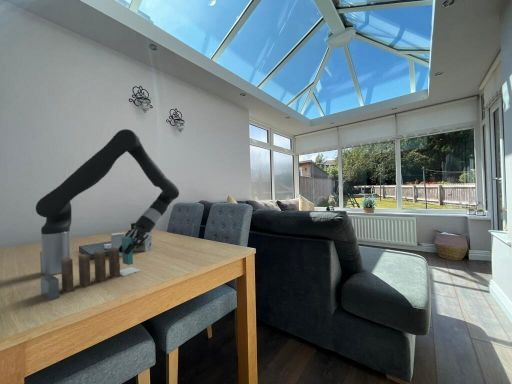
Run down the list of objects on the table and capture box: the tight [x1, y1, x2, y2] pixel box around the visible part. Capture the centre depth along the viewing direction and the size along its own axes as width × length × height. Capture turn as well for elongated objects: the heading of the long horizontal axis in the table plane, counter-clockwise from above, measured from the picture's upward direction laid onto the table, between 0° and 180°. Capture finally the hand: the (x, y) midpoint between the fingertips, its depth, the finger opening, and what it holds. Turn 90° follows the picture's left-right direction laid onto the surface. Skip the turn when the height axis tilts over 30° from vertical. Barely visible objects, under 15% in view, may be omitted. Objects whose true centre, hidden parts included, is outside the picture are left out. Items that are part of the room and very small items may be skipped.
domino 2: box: [77, 253, 92, 288], centre depth 81 cm, size 2×5×11 cm, turn 56°
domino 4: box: [107, 247, 121, 279], centre depth 89 cm, size 2×5×11 cm, turn 56°
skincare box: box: [110, 232, 125, 258], centre depth 118 cm, size 6×4×12 cm
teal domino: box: [121, 237, 134, 266], centre depth 94 cm, size 2×5×11 cm, turn 56°
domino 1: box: [60, 257, 75, 294], centre depth 77 cm, size 2×5×11 cm, turn 56°
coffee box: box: [130, 222, 153, 252], centre depth 130 cm, size 9×6×16 cm
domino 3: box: [93, 250, 107, 283], centre depth 85 cm, size 2×5×11 cm, turn 56°
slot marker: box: [120, 266, 142, 277], centre depth 94 cm, size 7×8×1 cm
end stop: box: [40, 274, 60, 301], centre depth 73 cm, size 2×9×6 cm, turn 56°
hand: (122, 252), depth 92 cm, fingers closed on teal domino, 5 cm apart
